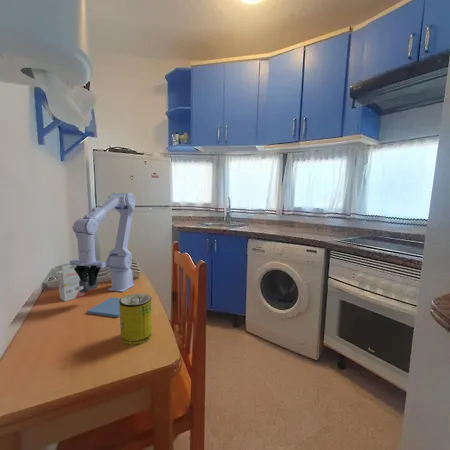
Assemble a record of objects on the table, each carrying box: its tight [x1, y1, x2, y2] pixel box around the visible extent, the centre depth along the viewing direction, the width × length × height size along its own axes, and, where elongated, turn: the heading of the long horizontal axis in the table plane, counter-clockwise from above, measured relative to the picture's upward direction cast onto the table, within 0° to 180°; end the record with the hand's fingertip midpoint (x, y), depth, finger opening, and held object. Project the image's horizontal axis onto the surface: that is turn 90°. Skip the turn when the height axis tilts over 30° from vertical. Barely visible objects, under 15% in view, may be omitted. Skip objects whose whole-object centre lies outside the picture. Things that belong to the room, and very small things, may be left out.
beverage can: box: [119, 293, 153, 346], centre depth 80 cm, size 9×9×12 cm
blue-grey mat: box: [86, 297, 121, 319], centre depth 101 cm, size 13×13×1 cm
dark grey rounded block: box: [75, 276, 98, 293], centre depth 102 cm, size 9×3×4 cm, turn 166°
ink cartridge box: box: [57, 264, 87, 302], centre depth 111 cm, size 9×5×15 cm, turn 143°
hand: (88, 284), depth 103 cm, fingers closed on dark grey rounded block, 3 cm apart
